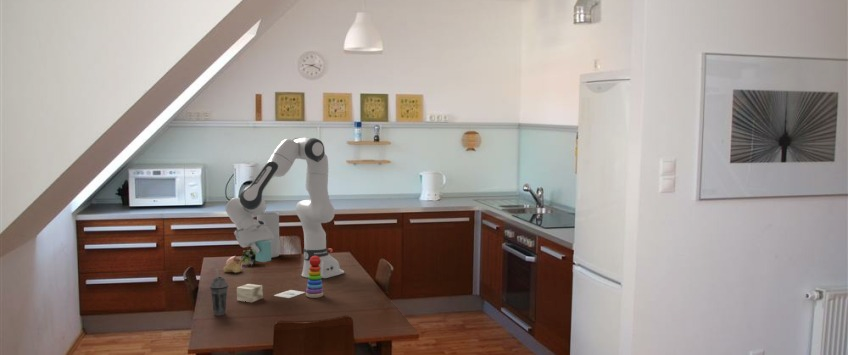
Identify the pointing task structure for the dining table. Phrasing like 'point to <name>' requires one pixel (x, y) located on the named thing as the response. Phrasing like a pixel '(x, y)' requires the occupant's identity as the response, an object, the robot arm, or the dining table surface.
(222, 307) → the beverage cup
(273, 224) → the cylinder vase
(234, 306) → the dining table surface
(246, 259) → the green leafy clump
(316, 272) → the stacking toy
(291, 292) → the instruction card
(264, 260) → the teal brick
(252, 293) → the base block
